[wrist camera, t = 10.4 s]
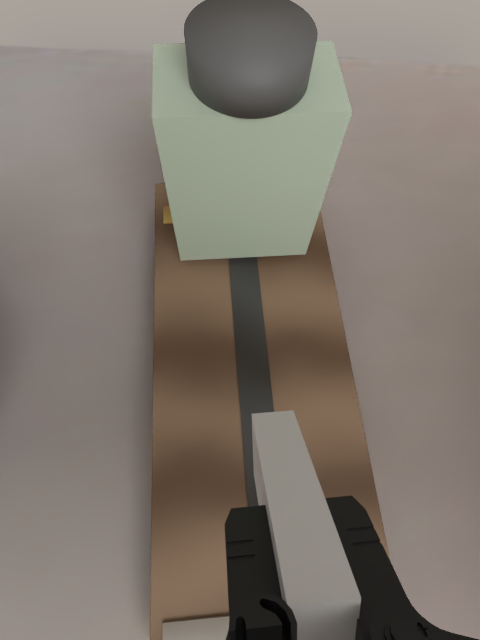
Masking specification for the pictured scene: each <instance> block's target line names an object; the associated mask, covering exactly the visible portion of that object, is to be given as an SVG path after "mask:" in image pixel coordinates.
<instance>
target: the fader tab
mask: <svg viewBox="0 0 480 640" xmlns="http://www.w3.org/2000/svg"><path fill="white" fill-rule="evenodd" d="M184 36H185V43H183V44H153V75H152V122H153V127H154V132H155V137H156V142H157V147H158V152H159V157H160V161H161V166H162V171H163V176H164V181H165V186H166V191H167V196H168V201H169V206H170V211H171V216H172V221H173V226H174V231H175V236H176V241H177V246H178V251H179V256H180V261H183V260H203V259H224V258H244V257H264V256H285V255H305V254H306V252H307V249H308V246H309V243H310V239H311V236H312V233H313V230H314V227H315V224H316V221H317V218H318V215H319V212H320V209H321V206H322V203H323V200H324V197H325V194H326V191H327V188H328V185H329V182H330V179H331V176H332V172H333V169H334V166H335V163H336V160H337V157H338V154H339V151H340V148H341V145H342V142H343V139H344V136H345V133H346V130H347V127H348V124H349V121H350V118H351V115H352V109H351V105H350V102H349V98H348V94H347V91H346V87H345V84H344V80H343V76H342V73H341V69H340V65H339V62H338V58H337V55H336V51H335V47H334V43H333V41H317V28H316V25H315V23H314V21H313V19H312V18H311V17H310V15H309V14H308V13H307V12H306V11H305V10H304V9H303V8H301V7H300V6H298V5H297V4H295V3H294V2H292V1H290V0H205V1H203V2H202V3H200V4H199V5H197V6H196V7H195V8H194V9H193V10H192V11H191V12H190V14H189V15H188V17H187V19H186V21H185V25H184Z"/></svg>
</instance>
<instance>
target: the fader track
mask: <svg viewBox="0 0 480 640" xmlns="http://www.w3.org/2000/svg"><path fill="white" fill-rule="evenodd" d="M290 410H293V411H294V414H295V416H296V419H297V422H298V425H299V427H300V430H301V433H302V436H303V439H304V441H305V444H306V447H307V450H308V452H309V455H310V458H311V461H312V463H313V466H314V469H315V472H316V474H317V477H318V480H319V483H320V485H321V488H322V491H323V494H324V496H325V498H330V497H341V496H351V495H352V496H353V497H354V498H355V499H356V500H357V501H358V502H359V503H360V504H361V505H362V506H363V507H364V508H365V509H366V511H367V513H368V515H369V517H370V520H371V522H372V524H373V526H374V529H375V530H376V532H377V534H378V537H379V539H380V542H381V544H382V545H383V547H384V549H385V551H386V554H387V556H388V558H389V554H388V549H387V544H386V539H385V534H384V529H383V524H382V519H381V514H380V509H379V504H378V499H377V494H376V489H375V484H374V479H373V473H372V468H371V463H370V458H369V453H368V448H367V443H366V438H365V433H364V428H363V423H362V418H361V413H360V408H359V403H358V398H357V393H356V388H355V383H354V378H353V373H352V368H351V363H350V358H349V353H348V348H347V343H346V338H345V333H344V328H343V323H342V318H341V313H340V307H339V302H338V297H337V292H336V287H335V282H334V277H333V272H332V267H331V262H330V257H329V252H328V247H327V242H326V237H325V232H324V227H323V222H322V217H321V212H319V215H318V218H317V221H316V224H315V227H314V230H313V233H312V236H311V239H310V243H309V246H308V249H307V252H306V254H305V255H285V256H264V257H244V258H224V259H203V260H183V261H180V256H179V251H178V246H177V241H176V236H175V231H174V226H173V221H172V216H171V211H170V206H169V201H168V196H167V191H166V186H165V183H164V184H156V198H155V279H154V359H153V440H152V521H151V602H150V640H226V637H227V633H228V630H229V601H228V582H227V562H226V543H225V522H226V519H227V517H228V515H229V512H230V510H231V508H239V507H250V506H259V504H258V498H257V492H256V485H255V479H254V466H253V440H252V414H255V413H266V412H278V411H290ZM389 560H390V559H389Z"/></svg>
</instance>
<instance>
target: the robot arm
mask: <svg viewBox="0 0 480 640" xmlns="http://www.w3.org/2000/svg"><path fill="white" fill-rule="evenodd" d="M252 440H253V466H254V479H255V485H256V492H257V498H258V504H259V506H250V507H239V508H231V510H230V512H229V515H228V517H227V519H226V522H225V543H226V562H227V582H228V601H229V630H228V633H227V637H226V640H479V639H475V638H470V637H466V636H462V635H458V634H454V633H450V632H447V631H445V630H442V629H439V628H438V627H436V626H434V625H432V624H431V623H429V622H428V621H427V620H426V619H424V618H423V617H422V616H421V615H420V614H419V613H418V612H417V611H416V610H415V609H414V607H413V606H412V605H411V603H410V601H409V600H408V598H407V596H406V594H405V592H404V590H403V588H402V585H401V583H400V581H399V579H398V577H397V575H396V573H395V571H394V568H393V566H392V564H391V562H390V560H389V558H388V556H387V554H386V551H385V549H384V547H383V545H382V544H381V542H380V539H379V537H378V534H377V532H376V530H375V529H374V526H373V524H372V522H371V520H370V517H369V515H368V513H367V511H366V509H365V508H364V507H363V506H362V505H361V504H360V503H359V502H358V501H357V500H356V499H355V498H354V497H353V496H352V495H351V496H341V497H330V498H325V496H324V494H323V491H322V488H321V485H320V483H319V480H318V477H317V474H316V472H315V469H314V466H313V463H312V461H311V458H310V455H309V452H308V450H307V447H306V444H305V441H304V439H303V436H302V433H301V430H300V427H299V425H298V422H297V419H296V416H295V414H294V411H293V410H290V411H278V412H266V413H255V414H252Z"/></svg>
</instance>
